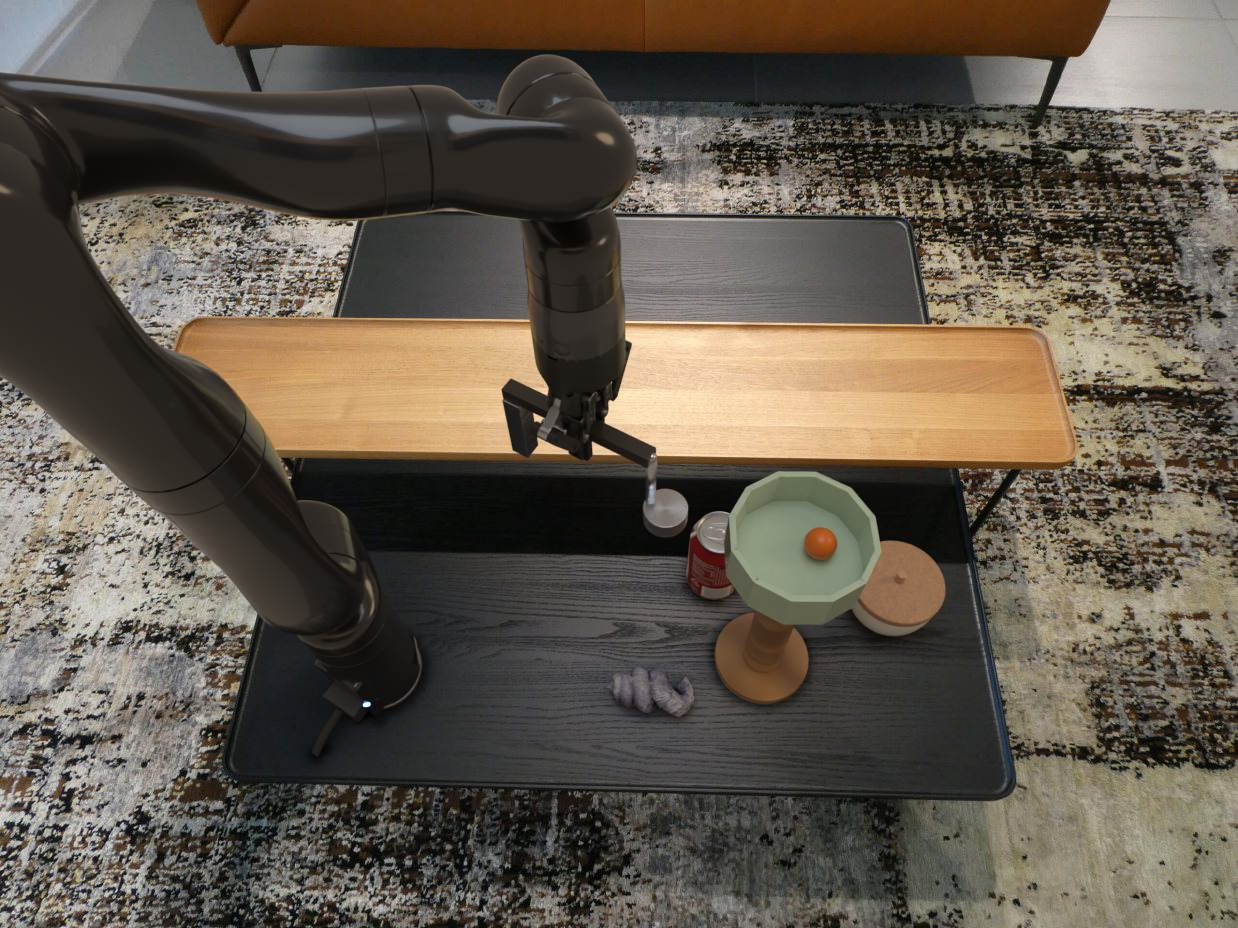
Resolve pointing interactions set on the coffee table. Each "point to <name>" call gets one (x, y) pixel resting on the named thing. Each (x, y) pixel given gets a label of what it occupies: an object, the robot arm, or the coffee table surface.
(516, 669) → the coffee table surface
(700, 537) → the soda can
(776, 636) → the stand
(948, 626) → the coffee table surface
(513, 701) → the coffee table surface
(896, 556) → the trinket box
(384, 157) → the robot arm
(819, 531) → the ball
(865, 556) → the bowl
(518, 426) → the ladle
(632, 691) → the seashell
